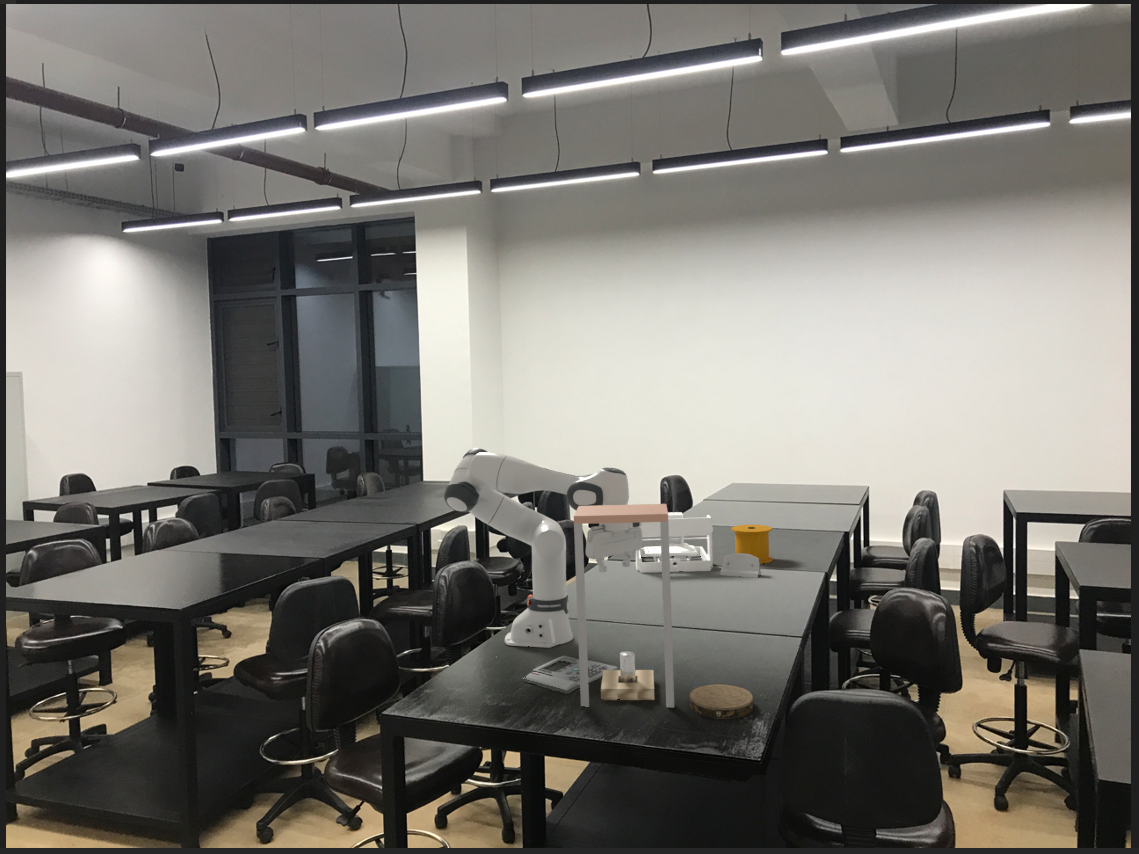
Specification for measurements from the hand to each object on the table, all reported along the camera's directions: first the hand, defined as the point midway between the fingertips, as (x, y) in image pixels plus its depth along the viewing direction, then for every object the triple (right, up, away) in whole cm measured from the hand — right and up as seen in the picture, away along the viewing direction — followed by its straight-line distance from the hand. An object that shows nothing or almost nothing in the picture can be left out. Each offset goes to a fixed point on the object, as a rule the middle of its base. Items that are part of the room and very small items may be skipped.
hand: (614, 569), depth 241 cm
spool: (+70, -19, +132) cm, 151 cm away
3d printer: (+34, -21, +131) cm, 137 cm away
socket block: (+3, -30, -19) cm, 35 cm away
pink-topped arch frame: (+2, -30, -23) cm, 37 cm away
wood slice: (+26, -30, -32) cm, 51 cm away
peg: (+3, -30, -19) cm, 35 cm away
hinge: (+60, -21, +106) cm, 123 cm away
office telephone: (-14, -30, -6) cm, 34 cm away
